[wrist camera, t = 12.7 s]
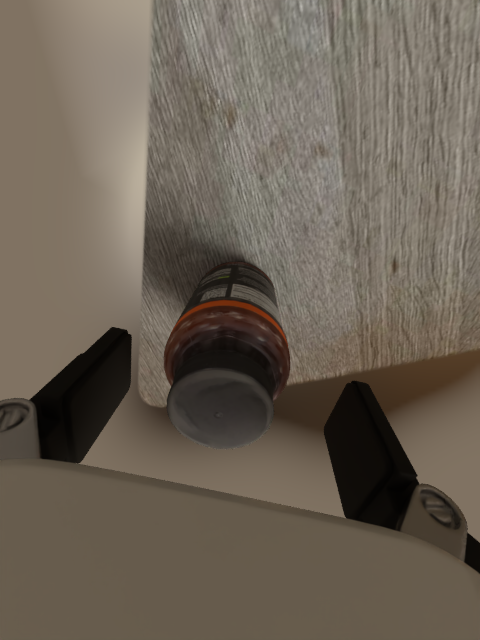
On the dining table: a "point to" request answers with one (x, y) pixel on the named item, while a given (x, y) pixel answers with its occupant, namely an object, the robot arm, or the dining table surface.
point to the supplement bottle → (227, 358)
